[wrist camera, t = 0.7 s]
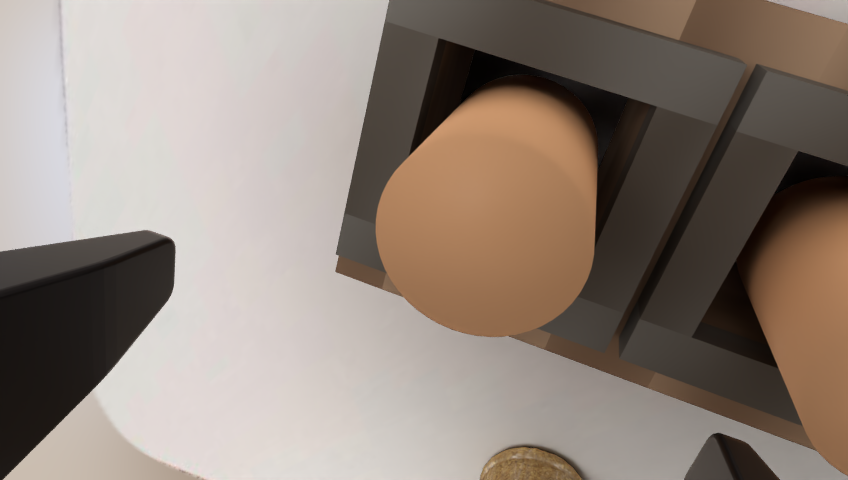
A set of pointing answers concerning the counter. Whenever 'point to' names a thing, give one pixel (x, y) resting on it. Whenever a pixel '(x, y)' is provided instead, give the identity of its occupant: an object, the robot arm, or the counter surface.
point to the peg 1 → (495, 210)
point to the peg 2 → (806, 303)
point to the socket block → (637, 168)
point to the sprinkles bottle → (528, 466)
